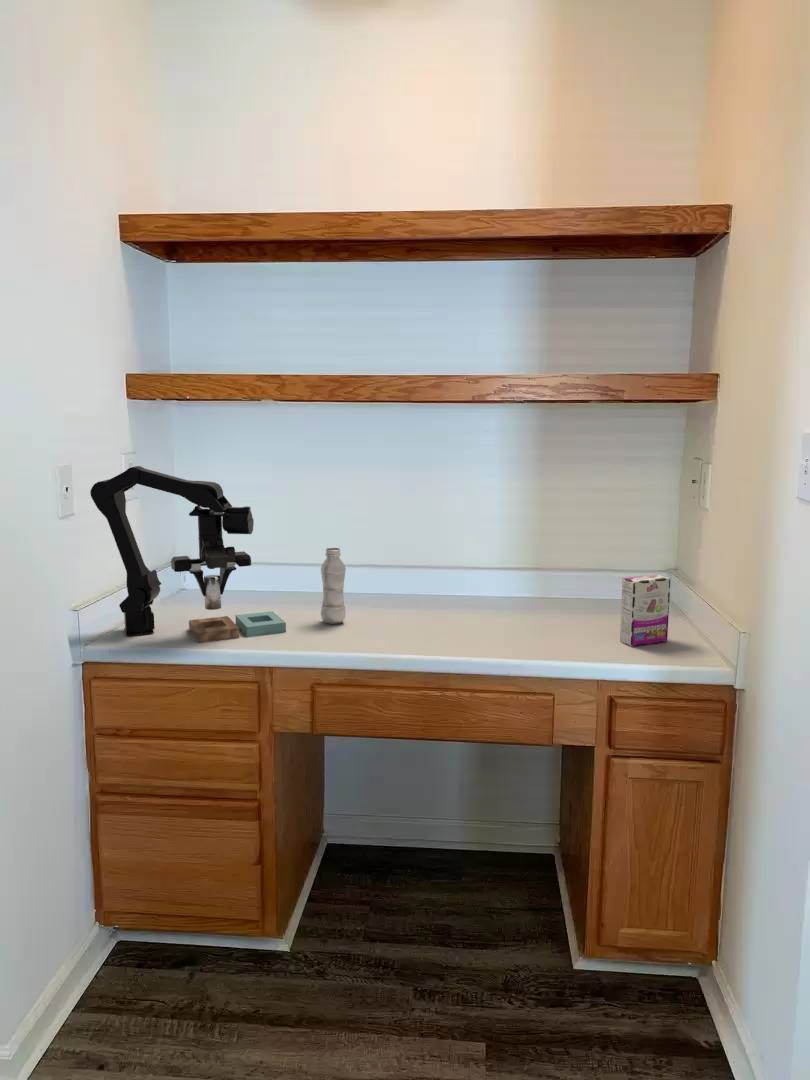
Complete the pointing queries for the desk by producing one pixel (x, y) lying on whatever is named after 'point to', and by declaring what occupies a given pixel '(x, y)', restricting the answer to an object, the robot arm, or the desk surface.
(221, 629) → the socket block
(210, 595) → the steel peg
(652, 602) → the candy bar box
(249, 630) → the block
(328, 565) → the plastic bottle
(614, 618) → the desk surface
